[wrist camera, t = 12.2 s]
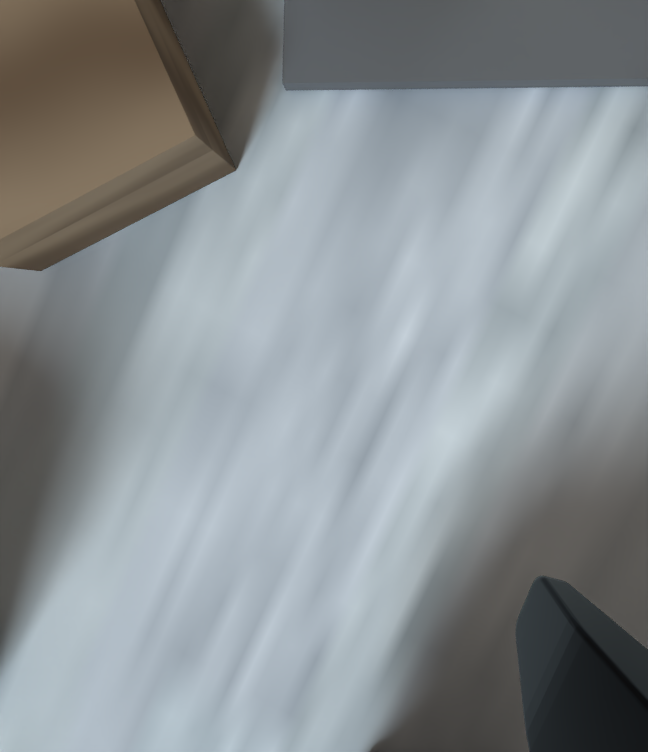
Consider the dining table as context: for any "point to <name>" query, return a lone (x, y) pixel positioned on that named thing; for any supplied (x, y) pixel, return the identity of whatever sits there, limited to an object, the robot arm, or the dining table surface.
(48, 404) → the dining table surface
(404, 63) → the rubber mat
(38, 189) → the body
